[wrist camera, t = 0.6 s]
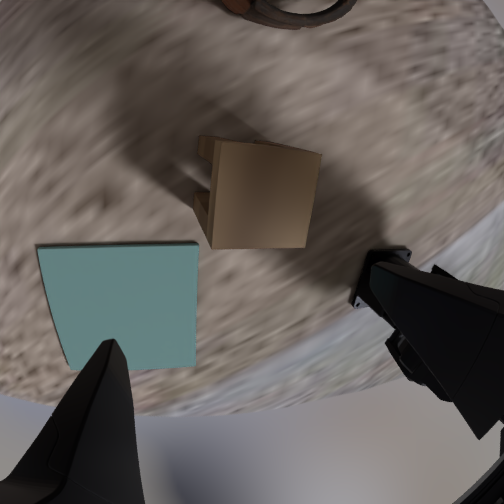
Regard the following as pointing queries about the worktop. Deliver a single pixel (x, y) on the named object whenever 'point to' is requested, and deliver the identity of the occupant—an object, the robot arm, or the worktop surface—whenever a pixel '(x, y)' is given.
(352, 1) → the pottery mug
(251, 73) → the worktop surface
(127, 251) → the mat
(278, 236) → the brown u-shaped block
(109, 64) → the worktop surface
